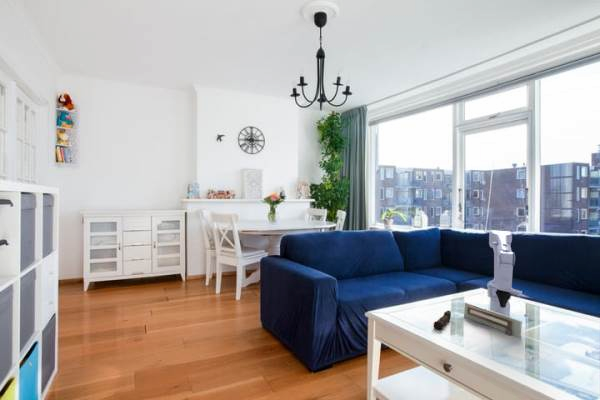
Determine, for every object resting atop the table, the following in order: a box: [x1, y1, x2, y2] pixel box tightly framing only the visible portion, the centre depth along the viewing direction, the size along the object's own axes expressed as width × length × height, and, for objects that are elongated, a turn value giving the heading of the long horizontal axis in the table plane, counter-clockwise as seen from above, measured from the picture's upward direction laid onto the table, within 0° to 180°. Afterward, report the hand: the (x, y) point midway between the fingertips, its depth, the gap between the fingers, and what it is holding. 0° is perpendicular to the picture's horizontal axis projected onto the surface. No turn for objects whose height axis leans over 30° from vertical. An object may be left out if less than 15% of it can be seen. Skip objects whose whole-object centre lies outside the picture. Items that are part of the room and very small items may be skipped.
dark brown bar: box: [433, 310, 452, 332], centre depth 156 cm, size 19×4×5 cm, turn 138°
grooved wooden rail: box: [467, 306, 512, 330], centre depth 155 cm, size 1×20×4 cm, turn 30°
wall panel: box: [463, 301, 523, 338], centre depth 155 cm, size 4×26×7 cm, turn 30°
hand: (502, 307), depth 153 cm, fingers closed
